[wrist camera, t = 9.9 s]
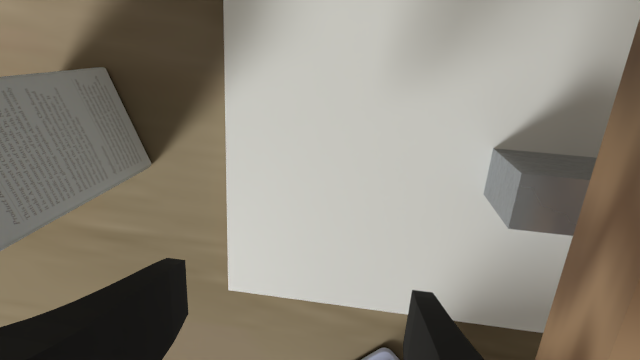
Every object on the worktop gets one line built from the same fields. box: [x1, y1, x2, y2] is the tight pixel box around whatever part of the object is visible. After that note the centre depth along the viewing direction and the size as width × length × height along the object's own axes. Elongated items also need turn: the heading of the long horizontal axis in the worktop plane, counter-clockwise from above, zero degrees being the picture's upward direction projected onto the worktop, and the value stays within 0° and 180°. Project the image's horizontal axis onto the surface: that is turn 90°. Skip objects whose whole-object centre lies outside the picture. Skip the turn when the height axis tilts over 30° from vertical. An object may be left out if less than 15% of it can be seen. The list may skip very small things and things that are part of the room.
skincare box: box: [0, 67, 151, 251], centre depth 17 cm, size 6×4×12 cm
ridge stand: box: [223, 0, 640, 333], centre depth 18 cm, size 24×18×5 cm
